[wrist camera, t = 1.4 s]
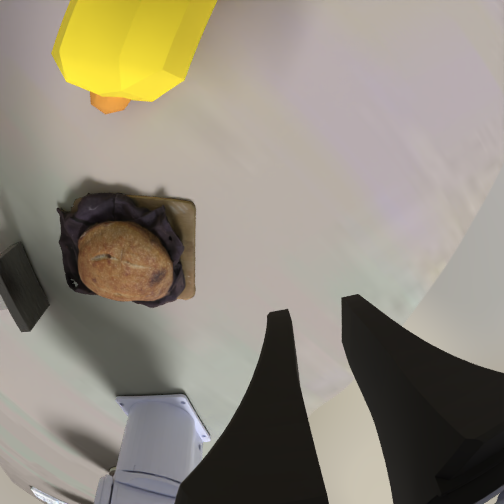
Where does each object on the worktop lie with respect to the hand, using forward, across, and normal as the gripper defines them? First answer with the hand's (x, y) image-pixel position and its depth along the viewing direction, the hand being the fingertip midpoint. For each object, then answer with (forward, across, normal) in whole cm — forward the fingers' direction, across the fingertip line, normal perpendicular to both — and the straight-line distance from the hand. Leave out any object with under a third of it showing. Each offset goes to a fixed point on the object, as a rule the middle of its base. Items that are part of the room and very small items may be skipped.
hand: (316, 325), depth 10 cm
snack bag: (+11, +89, +86) cm, 124 cm away
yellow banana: (+11, +4, -17) cm, 21 cm away
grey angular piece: (+10, +25, 0) cm, 27 cm away
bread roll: (+11, +11, 0) cm, 16 cm away
